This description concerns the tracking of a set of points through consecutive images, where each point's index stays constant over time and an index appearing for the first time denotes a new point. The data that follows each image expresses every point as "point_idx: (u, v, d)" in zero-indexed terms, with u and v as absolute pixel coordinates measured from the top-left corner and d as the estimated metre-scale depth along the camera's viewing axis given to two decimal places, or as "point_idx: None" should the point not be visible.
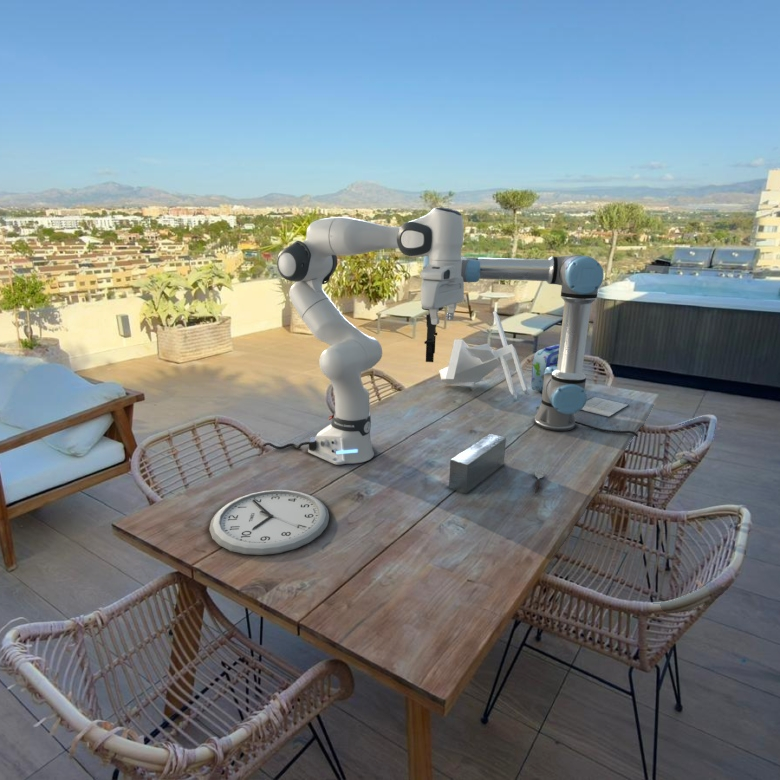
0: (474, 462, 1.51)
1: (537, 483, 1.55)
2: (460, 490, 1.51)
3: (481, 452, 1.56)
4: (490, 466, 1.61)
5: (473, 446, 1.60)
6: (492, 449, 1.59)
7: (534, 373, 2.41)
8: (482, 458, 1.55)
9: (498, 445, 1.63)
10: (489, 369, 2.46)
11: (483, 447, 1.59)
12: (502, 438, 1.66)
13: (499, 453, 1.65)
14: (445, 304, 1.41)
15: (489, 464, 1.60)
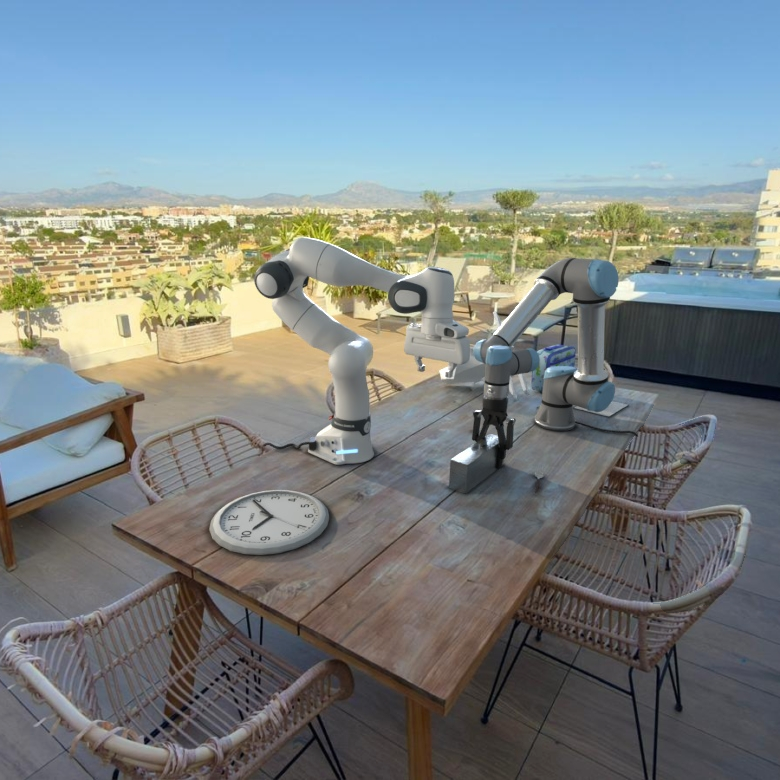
0: (474, 462, 1.51)
1: (537, 483, 1.55)
2: (460, 490, 1.51)
3: (481, 452, 1.56)
4: (490, 466, 1.61)
5: (473, 446, 1.60)
6: (492, 449, 1.59)
7: (534, 373, 2.41)
8: (482, 458, 1.55)
9: (498, 445, 1.63)
10: None
11: (483, 447, 1.59)
12: None
13: None
14: None
15: (489, 464, 1.60)
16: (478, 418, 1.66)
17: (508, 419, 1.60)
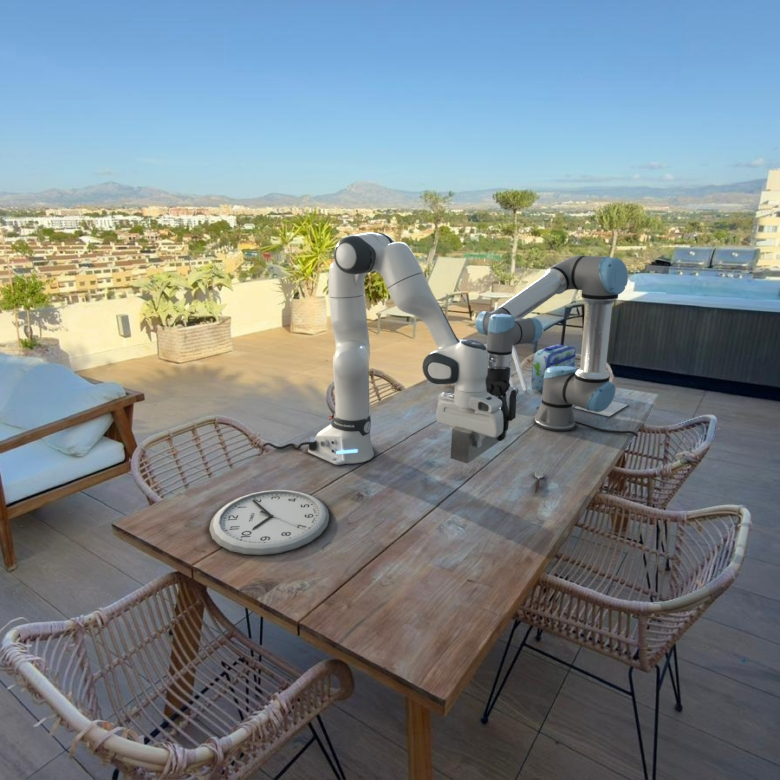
0: None
1: (537, 483, 1.55)
2: (462, 460, 1.48)
3: None
4: (492, 437, 1.58)
5: None
6: None
7: (534, 373, 2.41)
8: None
9: None
10: None
11: None
12: None
13: None
14: None
15: None
16: None
17: (511, 389, 1.57)
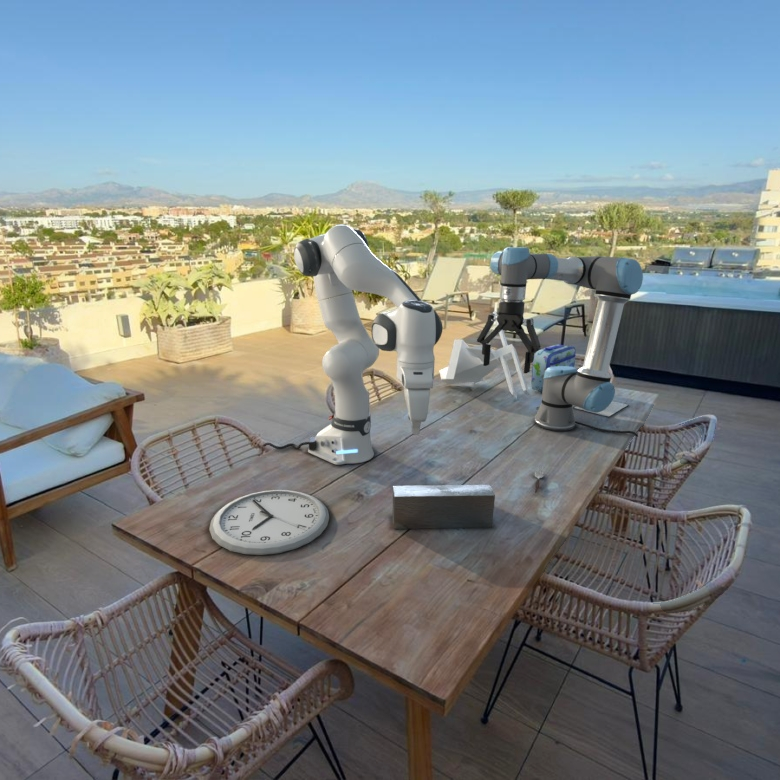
0: (411, 499, 1.30)
1: (537, 483, 1.55)
2: (393, 523, 1.34)
3: (434, 494, 1.31)
4: (454, 518, 1.32)
5: (441, 486, 1.35)
6: (456, 497, 1.30)
7: (534, 373, 2.41)
8: (430, 500, 1.30)
9: (473, 498, 1.31)
10: (489, 369, 2.46)
11: (448, 491, 1.32)
12: (489, 494, 1.31)
13: (477, 509, 1.32)
14: None
15: (450, 514, 1.32)
16: (491, 322, 1.62)
17: (525, 320, 1.55)
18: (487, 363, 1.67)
